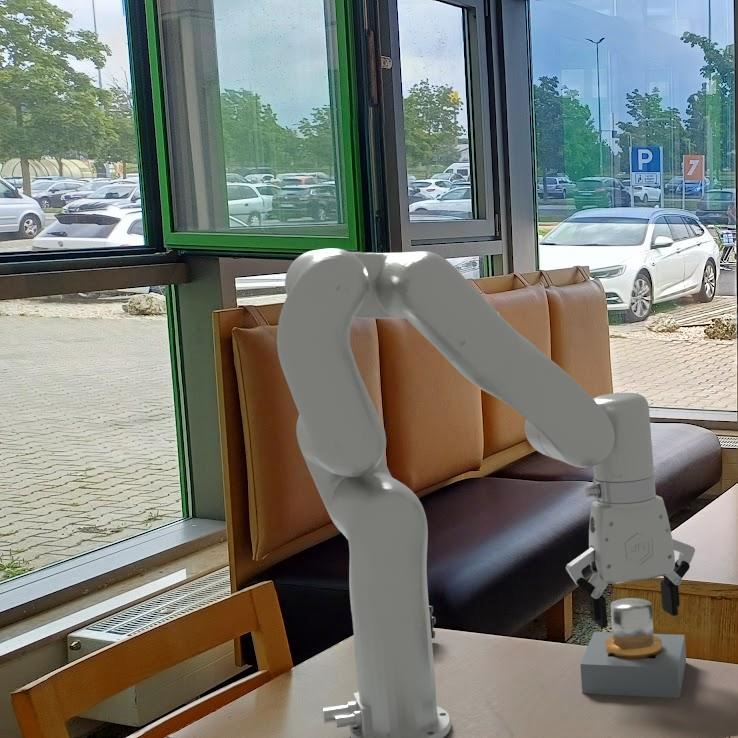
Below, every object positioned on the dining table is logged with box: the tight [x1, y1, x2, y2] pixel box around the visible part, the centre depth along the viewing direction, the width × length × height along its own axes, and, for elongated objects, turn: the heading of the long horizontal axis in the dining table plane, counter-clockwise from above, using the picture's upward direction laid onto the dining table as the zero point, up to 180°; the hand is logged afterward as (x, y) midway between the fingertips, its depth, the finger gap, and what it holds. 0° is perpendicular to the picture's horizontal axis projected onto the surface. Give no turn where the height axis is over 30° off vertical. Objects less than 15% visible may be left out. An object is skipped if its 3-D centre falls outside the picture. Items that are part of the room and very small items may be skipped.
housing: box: [580, 631, 687, 699], centre depth 149 cm, size 12×12×5 cm
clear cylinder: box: [605, 597, 662, 659], centre depth 149 cm, size 7×7×10 cm
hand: (635, 618), depth 148 cm, fingers open, 9 cm apart
